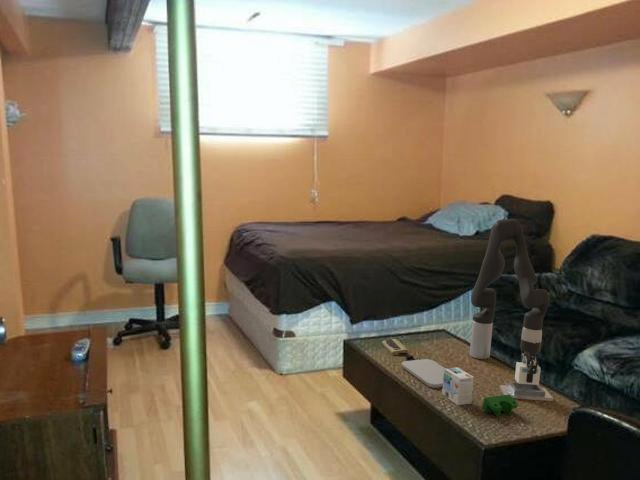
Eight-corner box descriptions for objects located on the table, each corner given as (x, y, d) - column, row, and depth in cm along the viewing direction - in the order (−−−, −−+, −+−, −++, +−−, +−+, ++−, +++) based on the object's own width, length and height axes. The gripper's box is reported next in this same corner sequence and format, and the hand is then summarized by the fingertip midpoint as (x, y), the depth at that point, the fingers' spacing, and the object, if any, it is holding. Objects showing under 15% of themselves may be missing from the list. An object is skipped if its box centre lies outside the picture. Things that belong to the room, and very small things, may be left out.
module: (514, 378, 224) (516, 362, 223) (534, 380, 223) (536, 363, 222) (518, 383, 219) (520, 366, 218) (538, 384, 218) (540, 368, 217)
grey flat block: (499, 387, 227) (500, 380, 227) (544, 390, 226) (545, 383, 226) (506, 397, 218) (507, 390, 217) (552, 401, 217) (553, 393, 216)
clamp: (492, 427, 202) (490, 410, 197) (483, 416, 207) (480, 399, 203) (520, 413, 204) (518, 396, 200) (510, 403, 209) (508, 386, 205)
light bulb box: (441, 394, 218) (443, 368, 217) (455, 392, 221) (457, 366, 219) (457, 405, 208) (459, 378, 207) (472, 403, 211) (474, 376, 209)
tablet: (430, 390, 223) (430, 384, 222) (398, 366, 247) (398, 361, 246) (464, 385, 229) (464, 380, 228) (429, 363, 253) (430, 358, 252)
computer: (381, 344, 275) (381, 338, 274) (396, 344, 277) (397, 338, 276) (391, 356, 260) (392, 349, 259) (408, 355, 261) (408, 349, 261)
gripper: (516, 332, 226) (512, 372, 228) (527, 344, 212) (522, 386, 214) (535, 333, 225) (530, 373, 228) (547, 345, 211) (542, 387, 214)
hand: (527, 379), depth 221 cm, fingers closed on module, 5 cm apart
